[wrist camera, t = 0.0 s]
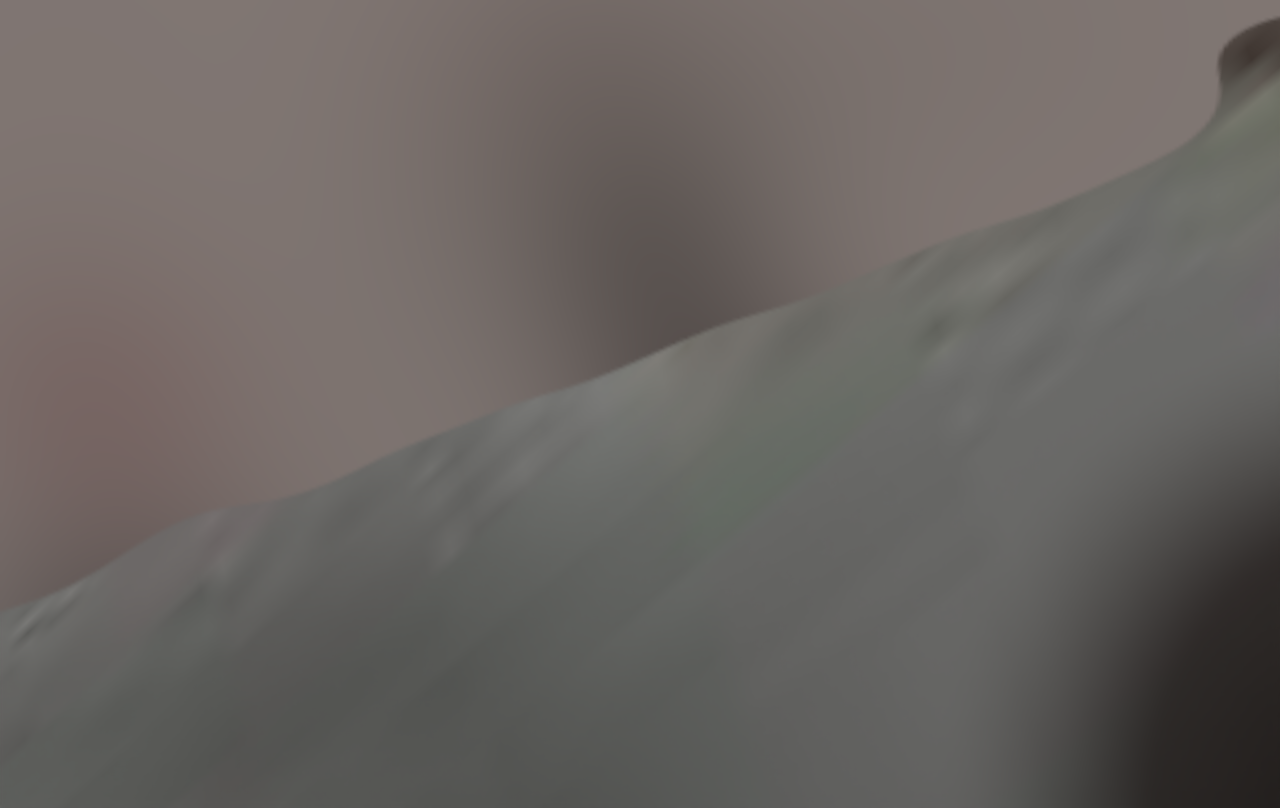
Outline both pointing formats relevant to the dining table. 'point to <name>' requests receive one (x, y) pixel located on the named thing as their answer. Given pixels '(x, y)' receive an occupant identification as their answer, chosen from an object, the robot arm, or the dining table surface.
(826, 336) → the dining table surface
